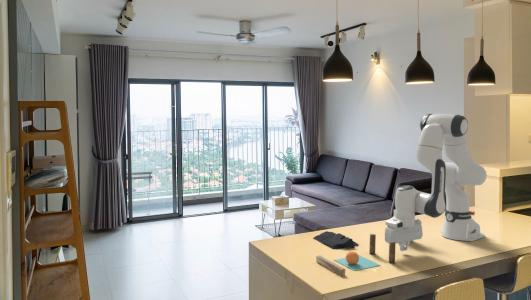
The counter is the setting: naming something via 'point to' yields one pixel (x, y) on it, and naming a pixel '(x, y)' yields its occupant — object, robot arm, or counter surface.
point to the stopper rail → (330, 265)
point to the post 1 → (372, 244)
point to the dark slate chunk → (335, 240)
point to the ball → (352, 257)
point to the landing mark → (361, 264)
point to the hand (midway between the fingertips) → (403, 250)
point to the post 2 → (392, 252)
